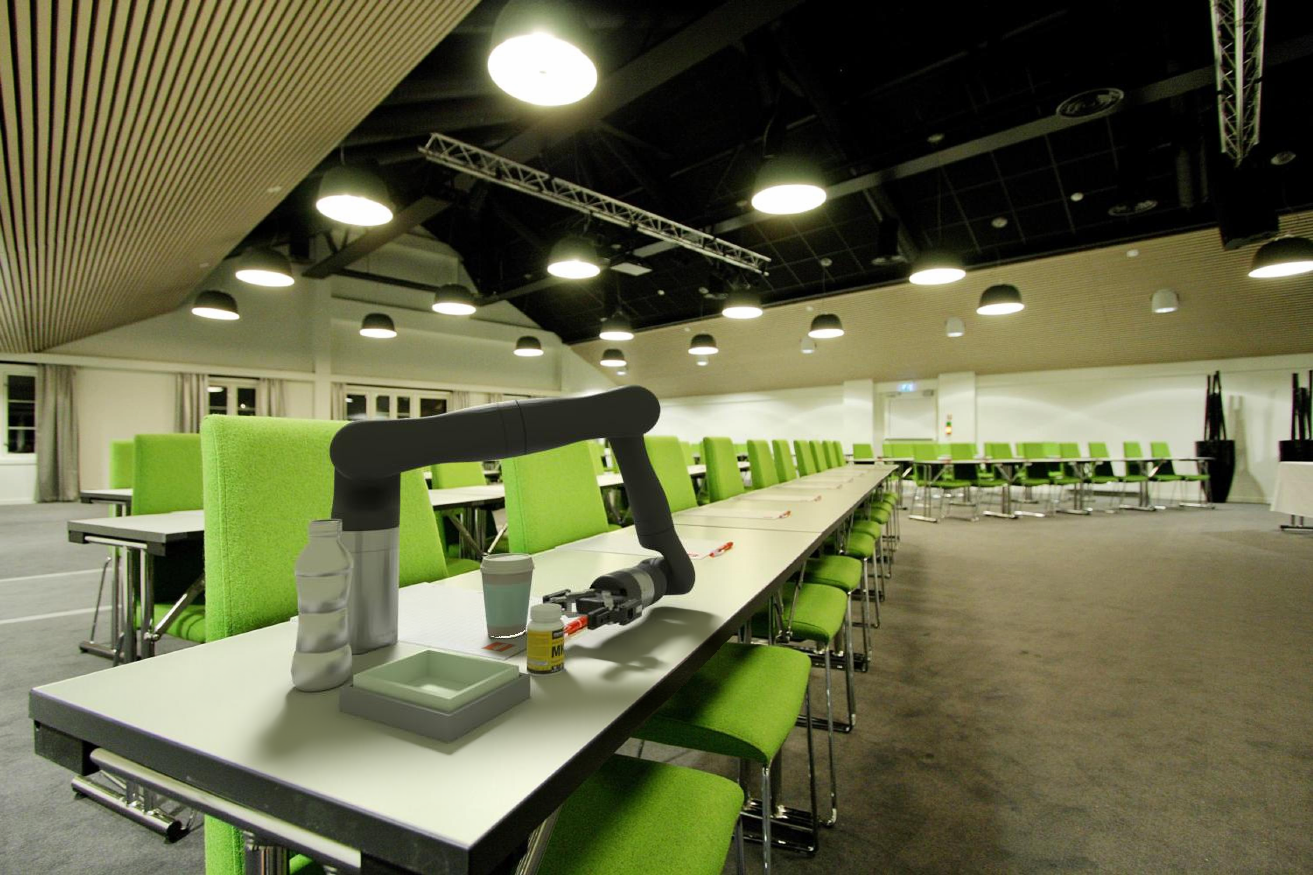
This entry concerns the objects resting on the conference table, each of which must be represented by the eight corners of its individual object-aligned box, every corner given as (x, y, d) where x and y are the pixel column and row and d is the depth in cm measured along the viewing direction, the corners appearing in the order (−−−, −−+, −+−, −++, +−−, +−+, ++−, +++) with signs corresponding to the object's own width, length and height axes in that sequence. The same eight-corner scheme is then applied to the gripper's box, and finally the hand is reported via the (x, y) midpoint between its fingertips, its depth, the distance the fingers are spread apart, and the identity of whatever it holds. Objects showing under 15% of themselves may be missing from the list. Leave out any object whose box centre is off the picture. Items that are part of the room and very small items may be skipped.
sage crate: (352, 708, 63) (353, 674, 63) (428, 677, 72) (428, 647, 72) (449, 736, 56) (449, 698, 56) (518, 698, 65) (519, 665, 65)
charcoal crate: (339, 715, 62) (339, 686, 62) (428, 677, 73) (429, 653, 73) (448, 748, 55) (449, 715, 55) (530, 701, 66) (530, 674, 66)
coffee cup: (531, 623, 97) (531, 551, 97) (537, 638, 89) (538, 559, 89) (477, 628, 94) (478, 554, 95) (479, 644, 86) (480, 562, 87)
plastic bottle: (287, 703, 65) (291, 524, 66) (293, 682, 71) (296, 519, 72) (352, 692, 68) (355, 521, 69) (352, 673, 74) (355, 516, 75)
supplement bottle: (555, 680, 72) (556, 612, 72) (520, 678, 73) (520, 610, 73) (569, 667, 76) (569, 603, 77) (535, 664, 77) (536, 601, 78)
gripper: (585, 566, 96) (521, 585, 82) (662, 574, 90) (608, 595, 75) (584, 612, 96) (520, 639, 81) (662, 623, 89) (607, 654, 75)
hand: (562, 618), depth 78 cm, fingers open, 8 cm apart
